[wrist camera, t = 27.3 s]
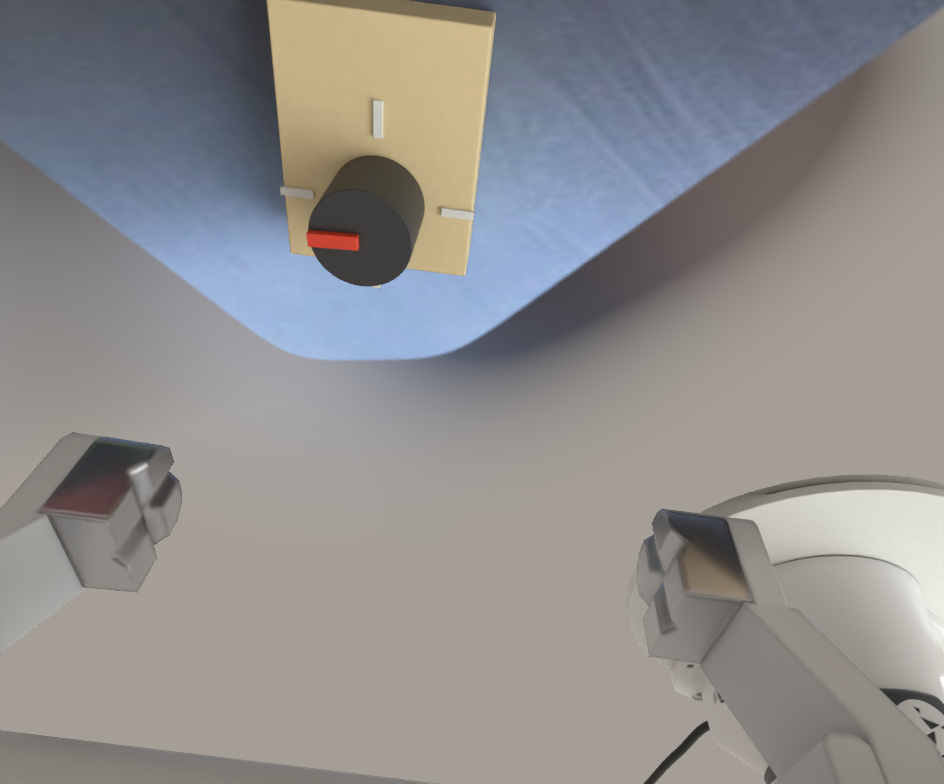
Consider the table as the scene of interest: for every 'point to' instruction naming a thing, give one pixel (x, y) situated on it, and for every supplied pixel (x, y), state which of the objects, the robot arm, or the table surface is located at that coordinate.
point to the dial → (367, 221)
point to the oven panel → (384, 107)
